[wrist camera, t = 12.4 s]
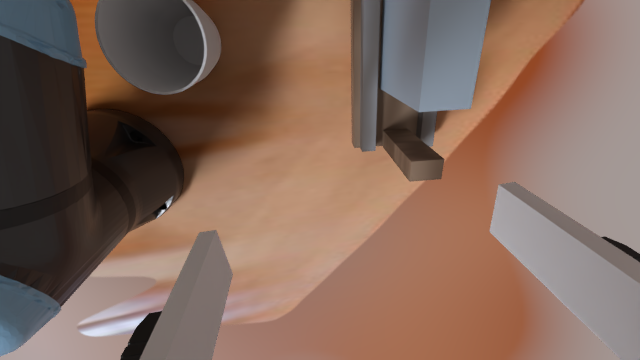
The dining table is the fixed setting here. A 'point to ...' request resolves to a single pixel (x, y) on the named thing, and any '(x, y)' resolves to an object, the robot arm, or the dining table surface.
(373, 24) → the grey u-shaped frame
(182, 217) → the dining table surface
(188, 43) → the cup
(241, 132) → the dining table surface
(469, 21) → the grey square slab
